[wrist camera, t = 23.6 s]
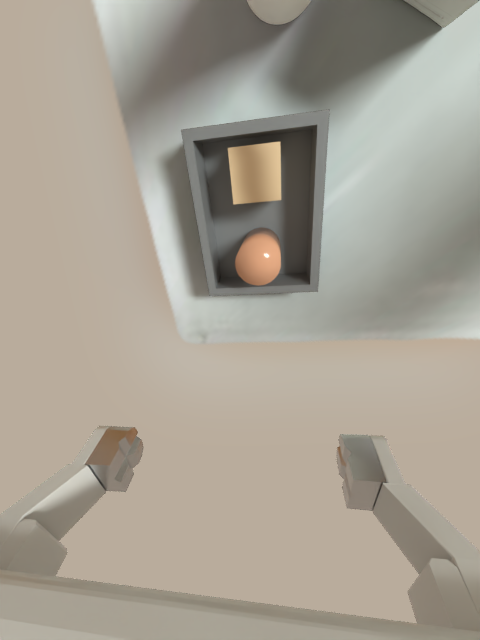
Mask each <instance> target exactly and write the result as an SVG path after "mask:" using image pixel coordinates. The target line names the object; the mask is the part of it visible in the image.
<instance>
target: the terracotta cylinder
mask: <svg viewBox="0 0 480 640" xmlns="http://www.w3.org/2000/svg"><path fill="white" fill-rule="evenodd" d="M235 267H236V271H237V273H238V275H239V276H240V277H241V278H242V279H243V280H244V281H245V282H247V283H249V284H252V285H265V284H268V283H270V282H271V281H272V280H274V279H275V278H276V276H277V275H278V273H279V271H280V267H281V245H280V240H279V238H278V236H277V234H276V233H275V232H274V231H272V230H270V229H268V228H264V227H260V228H256V229H253V230H251V231H250V232H249V233H248V234H247V235H246V237H245V239H244V241H243V243H242V245H241V247H240V249H239V251H238V254H237V256H236V260H235Z"/></svg>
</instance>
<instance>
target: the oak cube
mask: <svg viewBox="0 0 480 640" xmlns="http://www.w3.org/2000/svg"><path fill="white" fill-rule="evenodd" d="M228 156H229V165H230V175H231V185H232V195H233V204H244V203H255V202H265V201H276V200H281V146H280V142H271V143H263V144H255V145H247V146H239V147H231V148H228Z"/></svg>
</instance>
